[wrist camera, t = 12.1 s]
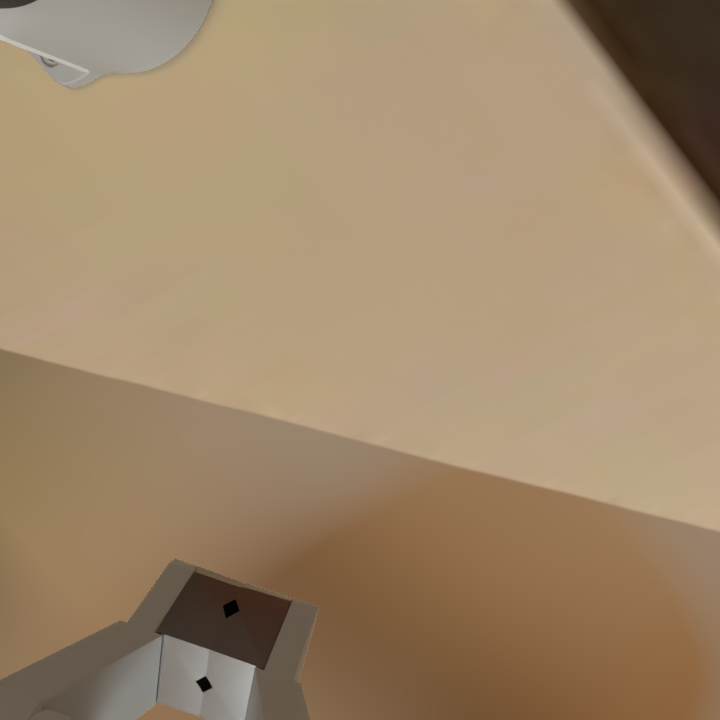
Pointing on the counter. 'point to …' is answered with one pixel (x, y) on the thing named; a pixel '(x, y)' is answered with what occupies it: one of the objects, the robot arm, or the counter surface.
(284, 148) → the counter surface
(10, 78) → the counter surface
